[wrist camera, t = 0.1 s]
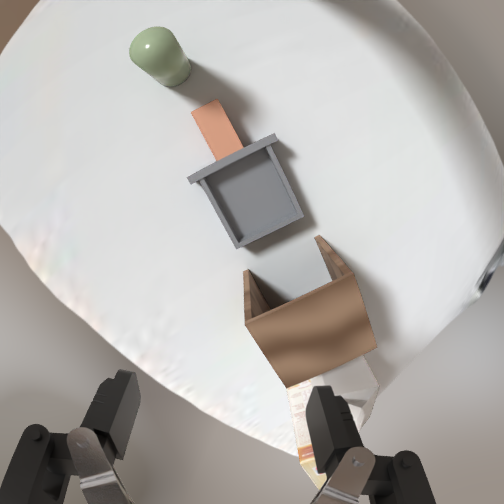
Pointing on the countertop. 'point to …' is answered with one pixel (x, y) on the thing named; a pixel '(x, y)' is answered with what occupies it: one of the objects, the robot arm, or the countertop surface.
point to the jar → (160, 56)
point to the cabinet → (311, 324)
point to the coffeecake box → (304, 430)
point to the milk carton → (352, 387)
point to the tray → (243, 180)
